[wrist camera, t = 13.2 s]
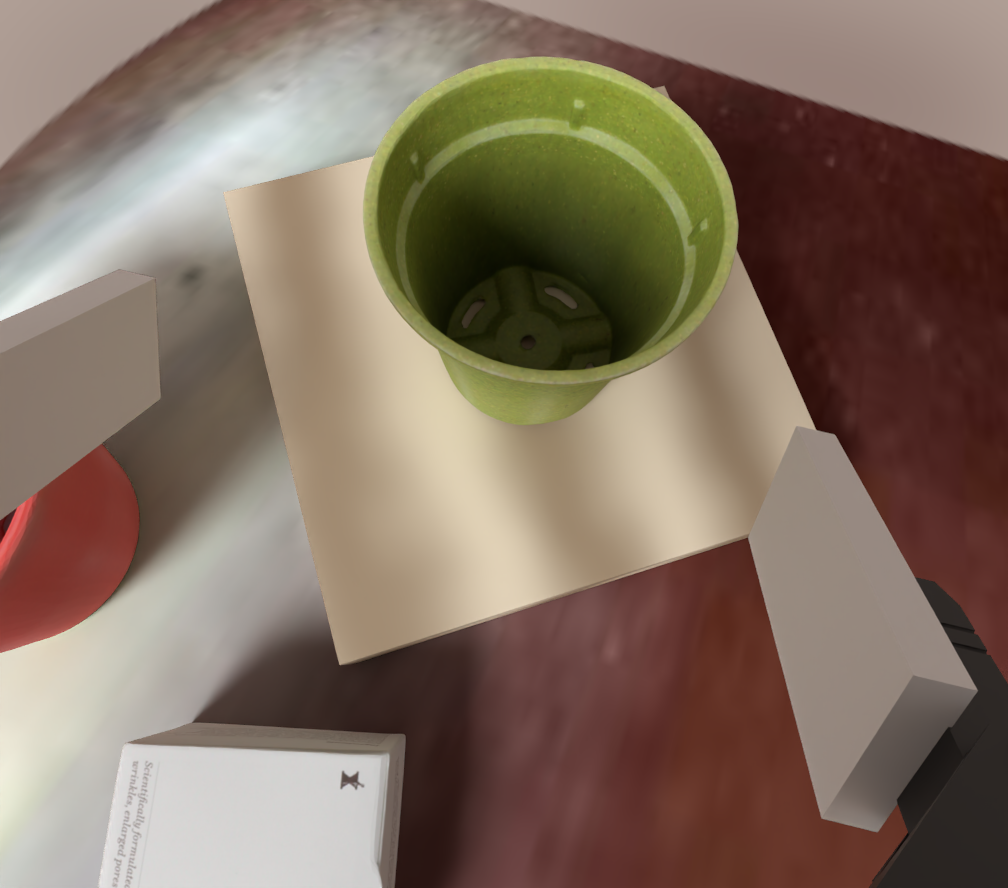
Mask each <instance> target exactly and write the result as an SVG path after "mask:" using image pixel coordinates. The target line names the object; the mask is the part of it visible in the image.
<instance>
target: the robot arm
mask: <svg viewBox="0 0 1008 888" xmlns="http://www.w3.org/2000/svg"><path fill="white" fill-rule="evenodd" d="M160 399H161V391H160V369H159V346H158V324H157V301H156V278H154V277H150V276H145V275H141V274H137V273H132V272H128V271H124V270H117V271H115V272H112V273H110V274H108V275H105V276H103V277H101V278H98V279H96V280H94V281H92V282H89V283H87V284H85V285H82V286H80V287H78V288H76V289H73V290H71V291H69V292H66V293H64V294H62V295H59V296H57V297H55V298H53V299H50V300H48V301H46V302H43V303H41V304H39V305H37V306H34V307H32V308H30V309H27V310H25V311H23V312H20V313H18V314H16V315H14V316H11V317H9V318H7V319H4V320H2V321H0V520H1V519H3V518H4V517H5V516H6V515H8V514H9V513H10V512H12V511H13V510H14V509H16V508H17V507H18V506H20V505H21V504H22V503H24V502H25V501H26V500H28V499H29V498H30V497H32V496H33V495H34V494H36V493H37V492H38V491H40V490H41V489H42V488H43V487H45V486H46V485H47V484H49V483H50V482H51V481H53V480H54V479H55V478H57V477H58V476H59V475H61V474H62V473H63V472H65V471H66V470H67V469H69V468H70V467H71V466H73V465H74V464H75V463H77V462H78V461H79V460H81V459H82V458H83V457H84V456H86V455H87V454H88V453H90V452H91V451H92V450H94V449H95V448H96V447H98V446H99V445H100V444H102V443H103V442H104V441H106V440H107V439H108V438H110V437H111V436H112V435H114V434H115V433H116V432H118V431H119V430H120V429H121V428H123V427H124V426H125V425H127V424H128V423H129V422H131V421H132V420H133V419H135V418H136V417H137V416H139V415H140V414H141V413H143V412H144V411H145V410H147V409H148V408H149V407H151V406H152V405H153V404H155V403H156V402H157V401H158V400H160ZM748 539H749V543H750V547H751V550H752V554H753V558H754V562H755V566H756V570H757V573H758V577H759V581H760V585H761V589H762V593H763V596H764V600H765V604H766V608H767V612H768V615H769V619H770V623H771V627H772V631H773V635H774V638H775V642H776V646H777V650H778V654H779V658H780V661H781V665H782V669H783V673H784V677H785V680H786V684H787V688H788V692H789V696H790V700H791V703H792V707H793V711H794V715H795V719H796V723H797V726H798V730H799V734H800V738H801V742H802V745H803V749H804V753H805V757H806V761H807V765H808V768H809V772H810V776H811V780H812V784H813V788H814V791H815V795H816V799H817V803H818V807H819V810H820V814H821V818H822V819H826V820H830V821H834V822H838V823H842V824H846V825H850V826H854V827H858V828H862V829H866V830H870V831H874V832H878V831H879V829H880V828H881V826H882V825H883V824H884V822H885V821H886V819H887V818H888V817H889V815H890V814H891V812H892V811H893V810H894V808H895V807H896V805H897V804H898V806H899V808H900V811H901V814H902V816H903V819H904V822H905V825H906V827H907V830H908V833H907V835H906V836H905V837H904V839H903V840H902V841H901V843H900V844H899V845H898V847H897V848H896V849H895V851H894V852H893V854H892V855H891V856H890V858H889V859H888V860H887V862H886V863H885V864H884V866H883V867H882V868H881V870H880V871H879V872H878V874H877V875H876V876H875V878H874V879H873V880H872V881H873V882H872V884H871V885H870V887H869V888H1008V684H1007V682H1006V680H1005V679H1004V677H1003V675H1002V674H1001V672H1000V671H999V669H998V667H997V666H996V664H995V662H994V661H993V659H992V657H991V656H990V655H987V654H986V652H987V649H986V648H985V646H984V644H983V643H982V641H981V639H980V638H979V636H978V635H975V634H974V631H975V630H974V628H973V626H972V625H971V623H970V621H969V620H968V618H967V617H966V615H965V613H964V612H963V610H962V608H961V607H960V605H958V604H957V603H956V602H955V601H954V600H953V599H952V598H951V597H950V596H949V595H948V594H947V593H946V592H945V591H944V590H943V589H941V588H940V587H939V586H938V585H937V584H936V583H935V582H933V581H929V580H925V579H920V578H916V577H914V575H913V574H912V572H911V570H910V568H909V566H908V565H907V563H906V561H905V559H904V557H903V556H902V554H901V552H900V550H899V548H898V547H897V545H896V543H895V541H894V539H893V538H892V536H891V534H890V532H889V531H888V529H887V527H886V525H885V523H884V522H883V520H882V518H881V516H880V514H879V513H878V511H877V509H876V507H875V505H874V504H873V502H872V500H871V498H870V496H869V495H868V493H867V491H866V489H865V487H864V486H863V484H862V482H861V480H860V479H859V477H858V475H857V473H856V471H855V470H854V468H853V466H852V464H851V462H850V461H849V459H848V457H847V455H846V453H845V452H844V450H843V448H842V446H841V444H840V443H839V441H838V439H837V437H836V436H835V435H834V434H830V433H826V432H821V431H817V430H813V429H808V428H804V427H800V426H796V428H795V430H794V433H793V435H792V437H791V439H790V442H789V444H788V446H787V449H786V451H785V453H784V456H783V458H782V460H781V463H780V465H779V467H778V469H777V472H776V474H775V476H774V479H773V481H772V483H771V486H770V488H769V490H768V493H767V495H766V497H765V500H764V502H763V504H762V506H761V509H760V511H759V513H758V516H757V518H756V520H755V523H754V525H753V527H752V530H751V532H750V534H749V536H748Z"/></svg>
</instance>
